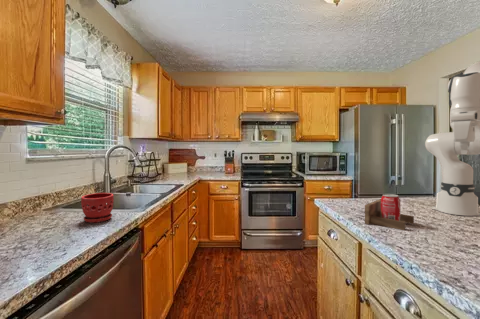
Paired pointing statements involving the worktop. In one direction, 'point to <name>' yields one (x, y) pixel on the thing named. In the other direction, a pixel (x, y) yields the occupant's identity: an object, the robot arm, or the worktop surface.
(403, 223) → the bay
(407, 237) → the worktop surface
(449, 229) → the worktop surface
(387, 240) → the worktop surface
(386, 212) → the soda can
